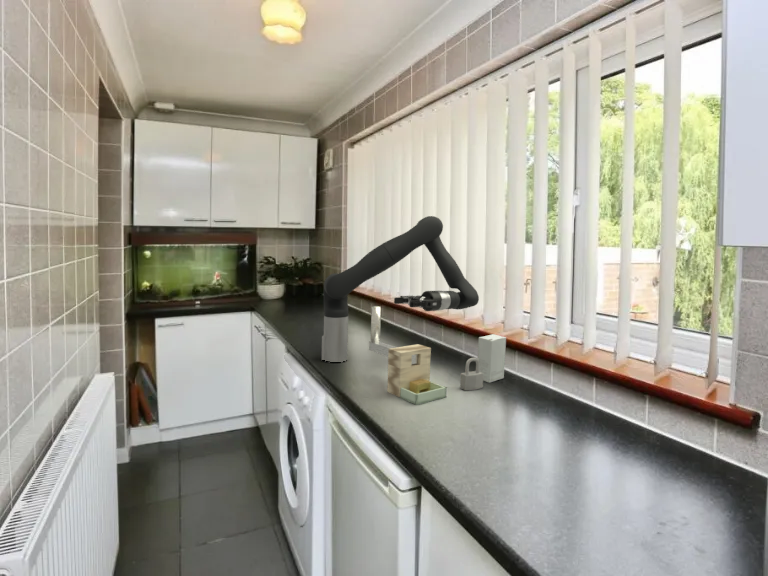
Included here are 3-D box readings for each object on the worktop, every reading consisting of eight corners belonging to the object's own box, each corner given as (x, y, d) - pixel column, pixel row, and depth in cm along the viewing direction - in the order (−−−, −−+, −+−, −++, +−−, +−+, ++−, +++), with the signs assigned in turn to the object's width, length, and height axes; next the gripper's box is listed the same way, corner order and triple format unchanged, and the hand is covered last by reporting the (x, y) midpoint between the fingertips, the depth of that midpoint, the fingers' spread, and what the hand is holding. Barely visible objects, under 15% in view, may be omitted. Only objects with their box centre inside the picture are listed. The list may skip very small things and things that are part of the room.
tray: (400, 397, 133) (400, 387, 133) (429, 390, 141) (430, 381, 140) (416, 405, 128) (416, 394, 127) (446, 397, 135) (446, 387, 135)
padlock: (476, 384, 148) (477, 355, 147) (484, 388, 144) (485, 358, 143) (458, 387, 144) (460, 357, 143) (466, 391, 141) (468, 360, 140)
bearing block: (387, 391, 138) (388, 348, 137) (416, 384, 146) (418, 344, 144) (399, 397, 134) (401, 352, 132) (429, 390, 141) (430, 347, 140)
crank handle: (368, 350, 153) (369, 306, 152) (376, 348, 155) (377, 305, 154) (409, 364, 136) (411, 316, 135) (417, 363, 138) (419, 315, 137)
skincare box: (490, 374, 160) (492, 333, 158) (504, 379, 155) (507, 336, 154) (475, 378, 154) (477, 336, 153) (489, 383, 150) (492, 339, 148)
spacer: (409, 393, 135) (409, 381, 135) (422, 390, 138) (422, 378, 138) (417, 397, 132) (417, 384, 132) (430, 393, 136) (430, 381, 135)
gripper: (423, 288, 174) (390, 289, 164) (449, 293, 162) (416, 294, 153) (422, 307, 174) (389, 309, 165) (448, 313, 163) (415, 316, 153)
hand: (402, 302), depth 159 cm, fingers open, 8 cm apart
